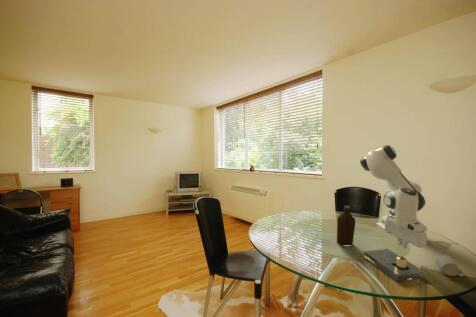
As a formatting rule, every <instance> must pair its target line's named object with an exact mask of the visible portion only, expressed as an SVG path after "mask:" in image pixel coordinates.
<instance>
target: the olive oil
mask: <svg viewBox="0 0 476 317" xmlns="http://www.w3.org/2000/svg"><path fill="white" fill-rule="evenodd" d="M355 229H356V219H355V217H354V216H353V215H352V214H351V206H349V205H344V208H343V212H341V213H340V214H339V215H338V216H337V220H336V243H337V244H338V243H339V244H341V245H352V244H353V243H354V237H355ZM339 244H338V245H339ZM341 245H340V246H341ZM352 246H353V245H352Z"/></svg>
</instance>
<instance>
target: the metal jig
mask: <svg viewBox="0 0 476 317" xmlns="http://www.w3.org/2000/svg"><path fill="white" fill-rule="evenodd" d="M364 255H366V256H367V257H369V258H370V259H371V260H372V261H374V263H375V264H376V265H377V267H376V268H378V270H380V271H382V272H383V273H384V274H385V275H387V276H388V277H390V278H391V279H392V280H394V281H395V282H396V283H401V282H406V281H405V280H407V279H409V278H412V279H413V280H412V281H414V280H420V279H425V274H426V271H425V270H423V269H421V268H420V267H418V266H416V265H415V264H413V263H411V262H410V261H408V260H407V263H406V270H402V271H401V270H399V269H398V268H396V267H395V265H396V256H399V255H398V254H397V253H395V252H393V251H392V250H390V249H388V248H384V249H376V250H375V249H374V250H365V251H363V256H364Z"/></svg>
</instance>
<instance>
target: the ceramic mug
mask: <svg viewBox="0 0 476 317" xmlns="http://www.w3.org/2000/svg"><path fill="white" fill-rule="evenodd" d="M435 264H436V265H437V266H438V268H439V269H440V270H441V272H442V273H444V274H445V275H447V276H449V277H455V276H459V277H461V278H464V277H465V276H466V274H465V272H464V271H463V270H461V269H460V268H459V266H458V264H457V263H456V262H455V260H454V259H453V258H452V257H451V256H450V255H446V254H440V255H438V256H437V257H436V259H435ZM463 276H464V277H463Z"/></svg>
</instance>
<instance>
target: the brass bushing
mask: <svg viewBox="0 0 476 317" xmlns="http://www.w3.org/2000/svg"><path fill="white" fill-rule="evenodd" d="M407 261H408V260H407V258H406V257H405V256H401V255H398V256H396V265H395V267H396V268H398V269H399V270H401V271H402V270H406V263H407Z"/></svg>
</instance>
